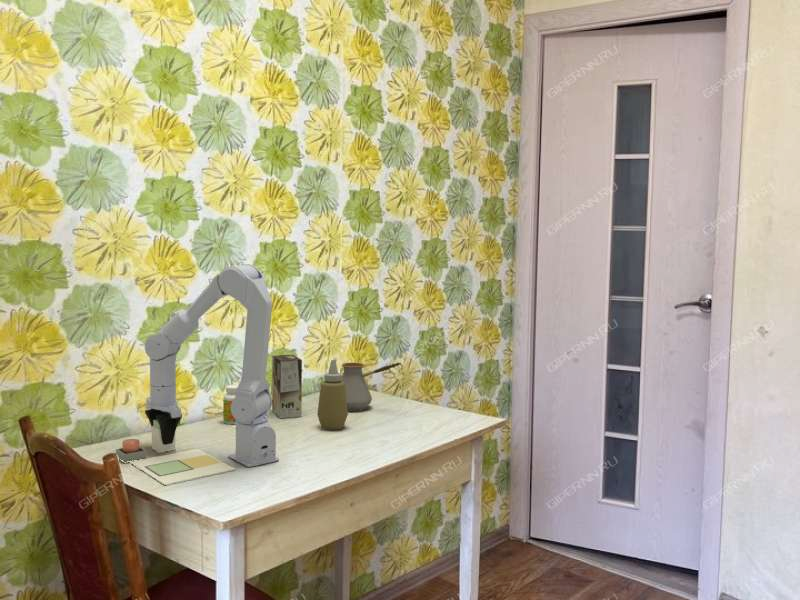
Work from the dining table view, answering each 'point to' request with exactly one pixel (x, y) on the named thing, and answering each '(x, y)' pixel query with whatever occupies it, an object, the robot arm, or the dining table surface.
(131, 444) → the button
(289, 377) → the coffee box
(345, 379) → the coffee pot
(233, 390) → the supplement bottle
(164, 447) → the beige boxy piece
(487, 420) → the dining table surface
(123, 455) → the button housing
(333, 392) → the squeeze bottle
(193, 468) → the paper board
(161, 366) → the robot arm
